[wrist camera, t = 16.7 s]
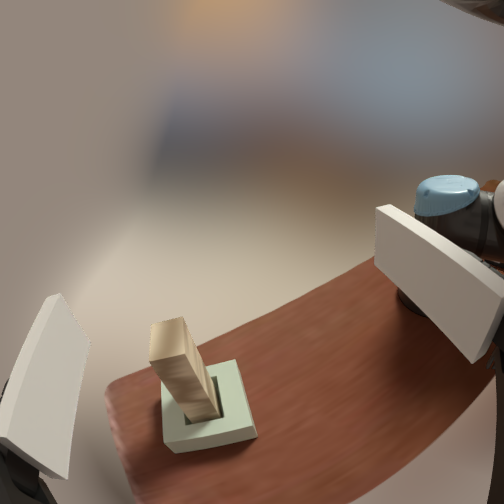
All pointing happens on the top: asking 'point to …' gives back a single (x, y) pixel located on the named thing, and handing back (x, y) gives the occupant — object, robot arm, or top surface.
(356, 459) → the top surface
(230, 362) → the end cap
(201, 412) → the wooden block
